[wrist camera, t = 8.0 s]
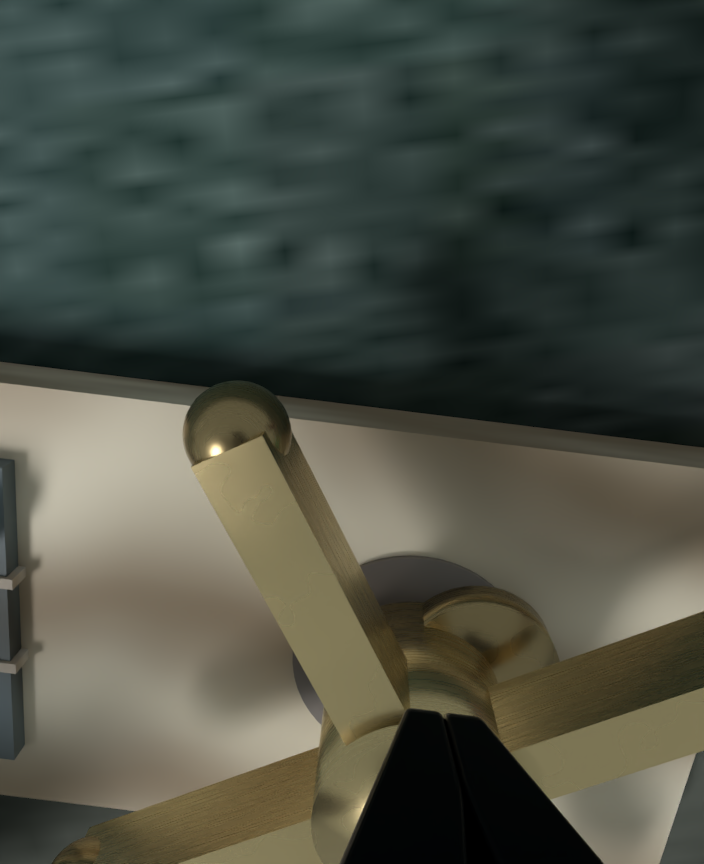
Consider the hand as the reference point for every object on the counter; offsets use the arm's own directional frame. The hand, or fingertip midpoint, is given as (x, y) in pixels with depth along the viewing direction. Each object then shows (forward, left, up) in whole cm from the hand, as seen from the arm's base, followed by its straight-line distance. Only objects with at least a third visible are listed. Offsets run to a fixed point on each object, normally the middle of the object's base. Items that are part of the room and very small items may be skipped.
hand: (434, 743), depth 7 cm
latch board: (-6, +2, -12) cm, 13 cm away
